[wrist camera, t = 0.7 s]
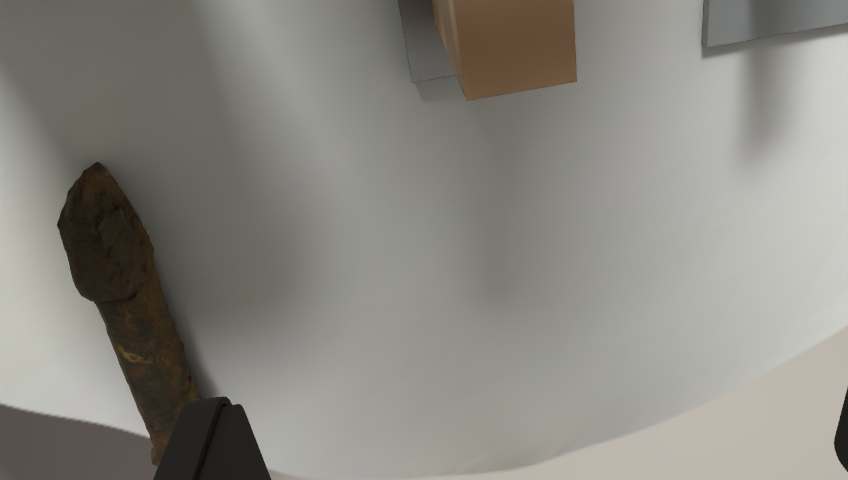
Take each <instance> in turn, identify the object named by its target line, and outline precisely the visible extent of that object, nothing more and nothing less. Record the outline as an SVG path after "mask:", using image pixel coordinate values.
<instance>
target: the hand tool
mask: <svg viewBox="0 0 848 480" xmlns="http://www.w3.org/2000/svg"><path fill="white" fill-rule="evenodd" d="M57 226H58V228H59V231H60V235H61V239H62V241H63V245H64V249H65V251H66V253H67V257H68V261H69V265H70V270H71V274H72V278H73V281H74V284H75V286H76V288H77V290H78V291H79V293H80V294H81V296H83V297H85V298H87V299H89V300H90V301H94V303H95V304H96V306H97V308H98V310H99V312H100V314H101V316H102V318H103V320H104V322H105V324H106V329H107V333H108V336H109V338H110V341H111V343H112V346H113V348H114V350H115V353H116V355H117V358H118V361H119V364H120V366H121V368H122V371H123V373H124V376H125V378H126V381H127V383H128V385H129V387H130V390H131V393H132V395H133V397H134V400H135V402H136V405H137V407H138V410H139V412H140V414H141V416H142V418H143V420H144V422H145V425H146V429H147V431H148V432H149V434H150V438H151V439H150V440H151V441H152V444H153V448H152V450H151V460H152V464H154V465H156V466H159V464H160V461H161V459H162V456H163V454H164V451H165V449H166V447H167V444H168V442H169V439H170V437H171V434H172V432H173V429H174V427H175V424H176V422H177V419H178V417H179V414H180V412H181V410H182V408H183V406H184V404H186V403H187V402H189V401H196V400H201V399H200V397H199V394H198V388H197V385H196V383H195V380H194V377H193V376H192V375H191V373H190V370H189V367H188V364H187V361H186V359H185V355H184V346H183V343H182V342H180V340H179V337H178V335H177V332H176V329H175V326H174V323H173V321H172V319H171V316H170V314H169V311H168V308H167V305H166V302H165V299H164V297H163V294H162V290H161V287H160V284H159V281H158V279H157V276H156V273H155V270H154V263H153V251H154V250H153V247H152V244H151V242H150V239H149V237H148V235H147V233H146V231H145V229H144V227H143V225H142V223H141V221H140V219H139V217H138V216H137V214H136V213H135V211H134V209H133V207H132V206H131V204H130V203H129V201H128V199H127V198H126V196H125V195H124V193H123V192H122V191H121V189H120V188H119V186H118V185H117V183H116V182H115V181H114V179H113V178H112V177H111V176H110V174H109V173H108V171H107V170H106V169H105V168H104V166H103V165H102V164H100V163H98V162H97V163H95V164H93V165H92V166H90V167H89V168H87V169H86V170H85V171H84V172H83V173H82V175H81V177H80V178H79V179H77V180H76V182H75V183H74V185H73V186H72V187H71V189H70V190H69V191H68V195H67V199H66V203H65V205H64V207H63V209H62V211H61V214H60V218H59V221H58V224H57Z"/></svg>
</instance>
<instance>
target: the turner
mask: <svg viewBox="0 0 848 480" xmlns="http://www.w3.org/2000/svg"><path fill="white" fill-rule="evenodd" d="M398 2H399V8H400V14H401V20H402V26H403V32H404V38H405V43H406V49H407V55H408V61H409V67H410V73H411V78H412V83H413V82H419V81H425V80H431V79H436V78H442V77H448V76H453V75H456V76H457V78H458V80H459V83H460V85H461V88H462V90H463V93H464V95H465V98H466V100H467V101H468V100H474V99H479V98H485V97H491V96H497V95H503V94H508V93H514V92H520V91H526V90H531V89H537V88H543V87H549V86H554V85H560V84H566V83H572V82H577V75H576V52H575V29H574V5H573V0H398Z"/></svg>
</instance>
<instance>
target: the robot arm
mask: <svg viewBox="0 0 848 480" xmlns="http://www.w3.org/2000/svg"><path fill="white" fill-rule="evenodd" d="M834 445H835V451H836V454H837V456H838V459H839V461H840V462H841V464H842V465H843V467H844V468H845V469H846V470H847V472H848V389H847V393H846V396H845V400H844V404H843V408H842V412H841V416H840V420H839V423H838V427H837V431H836V435H835V441H834ZM153 480H271V478H270V475H269V473H268V470H267V468H266V465H265V462H264V460H263V457H262V455H261V452H260V449H259V447H258V444H257V442H256V439H255V437H254V434H253V431H252V429H251V426H250V424H249V421H248V418H247V416H246V413H245V411H244V409H243V407H242V406H241V405H240V404H236V405H232V404H231V402H230V400H229V399H228V398H227V397H216V398H210V399H203V400H196V401H189V402H187V403H186V404H184V406H183V408H182V410H181V412H180V414H179V417H178V419H177V422H176V424H175V427H174V429H173V432H172V434H171V437H170V439H169V442H168V444H167V447H166V449H165V451H164V454H163V456H162V459H161V461H160V464H159V466H158V469H157V471H156V474H155V476H154V479H153Z"/></svg>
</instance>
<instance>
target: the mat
mask: <svg viewBox="0 0 848 480" xmlns="http://www.w3.org/2000/svg"><path fill="white" fill-rule="evenodd" d="M845 23H848V0H704V10H703V29H702V45H703V46H705V47H713V46H718V45H724V44H730V43H736V42H741V41H747V40H753V39H759V38H764V37H770V36H776V35H782V34H787V33H793V32H799V31H804V30H810V29H816V28H822V27H827V26H833V25H839V24H845Z"/></svg>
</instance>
